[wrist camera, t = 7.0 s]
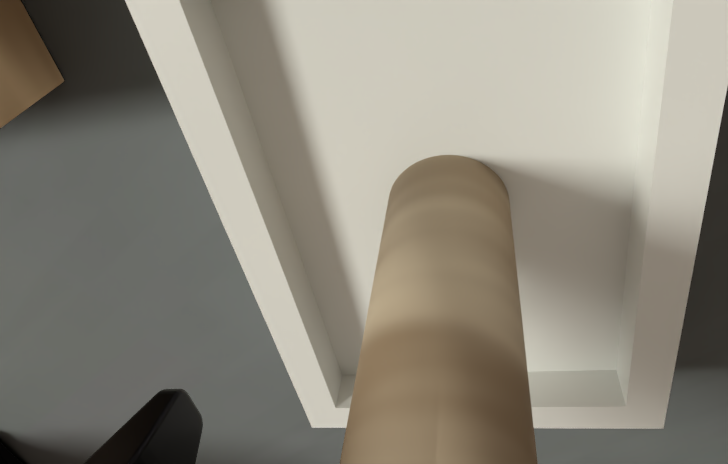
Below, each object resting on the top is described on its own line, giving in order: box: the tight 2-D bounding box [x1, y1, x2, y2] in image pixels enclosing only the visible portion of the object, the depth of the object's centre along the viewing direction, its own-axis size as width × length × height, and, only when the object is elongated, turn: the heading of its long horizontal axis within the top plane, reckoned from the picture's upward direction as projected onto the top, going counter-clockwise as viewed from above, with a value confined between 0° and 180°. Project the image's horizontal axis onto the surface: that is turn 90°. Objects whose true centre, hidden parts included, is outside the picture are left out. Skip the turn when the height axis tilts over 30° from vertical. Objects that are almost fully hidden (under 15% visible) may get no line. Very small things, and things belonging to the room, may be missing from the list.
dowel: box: [340, 155, 537, 464], centre depth 9 cm, size 3×3×10 cm
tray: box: [125, 0, 728, 429], centre depth 13 cm, size 14×10×2 cm
